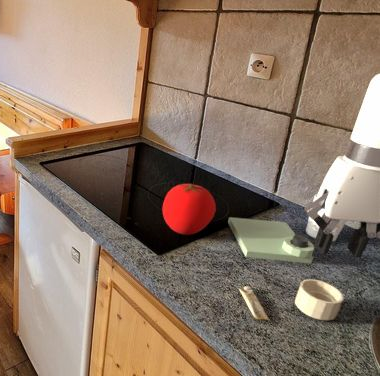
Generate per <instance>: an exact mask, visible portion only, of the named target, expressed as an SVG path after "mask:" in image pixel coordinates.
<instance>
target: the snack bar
mask: <svg viewBox="0 0 380 376" xmlns="http://www.w3.org/2000/svg"><path fill="white" fill-rule="evenodd" d="M236 288H237V289H238V290H239V293H240V294H241V296H242V298H243V300H244V301H245V303H246V306H247V307H248V309H249V311H250V313H251V315H252V316H253V318H254V319H255V320H260V321H263V322H265V323H266V322H267V323H270V322H271V319H270V318H269V316H268V315H267V313H266V310H265V309H264V307H263V305H262V303H261V302H260V300H259V299H258V296H257V295H256V294H255V292H254V290H253V288H252V286H251V285H247V286H246V285H245V286H238V285H236Z"/></svg>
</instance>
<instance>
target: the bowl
mask: <svg viewBox="0 0 380 376" xmlns="http://www.w3.org/2000/svg"><path fill="white" fill-rule="evenodd" d="M344 299H345V298H344V295H343V293H342V291H340V290H339V289H338V288H337V287H335V286H334V285H332V284H330V283H328V282H326V281H322V280H319V279H315V278H314V279H312V278H307V279H303V280H301V282H300V283H299V285H298V289H297V291H296V294H295V298H294V304H295V306H296V307H297V309H299V311H301V312H302V313H303V314H305V315H306V316H308V317H309V318H312V319H314V320H319V321H332V320H334V319H336V318H337V316H338V314H339V312H340V310H341V307H342V304H343V302H344Z"/></svg>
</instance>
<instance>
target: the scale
mask: <svg viewBox="0 0 380 376" xmlns="http://www.w3.org/2000/svg"><path fill="white" fill-rule="evenodd" d="M227 224H228V226H229V227H230V230H231V231H232V234H233V236H234V237H235V239H236V241H237V243H238V245H239V247H240V249H241V251H242V253H243V254H244V256H245V258H249V259H250V258H251V259H252V258H253V259H262V260H271V261H282V262H291V263H303V264H312V262H313V259H314V257H313V253H314V250H315V245H314V244H313V243H312V242H311V241H308V244H307V247H306V248H300V247H297V246H294V245H293V244H291V242H292V239H293V236H294V235H296V234H295V232H294V230H293V229H292V228H291V227H290V226H289V224H288V223H287V222H286V221H277V220H264V219H252V218H241V217H232V216H231V217H228V221H227Z"/></svg>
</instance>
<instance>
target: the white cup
mask: <svg viewBox="0 0 380 376" xmlns="http://www.w3.org/2000/svg"><path fill="white" fill-rule="evenodd" d="M317 195H318V192H317V193H315V194H314V197H313V200H312V203H313V202H314V201H315V200H316V197H317ZM325 211H326V209H321V210H320V211H319V212H318V214H319V215H320V216H321V217H322V215H323V214H324V212H325ZM346 222H347V220H340V221H339V223H338V224H337V225H336V227H335V228H334V230H333V231H332V232H331V233H332V234H333V235H334V237H333V240H332V242H336V241H337V239H338V238H339V235H340V233H341V232H342V230H343V228H344V226H345V224H346ZM318 230H319V226H318V225H317V224H316V222H315V221H314V220H313V219H311V218H310V217H309V216H308V220H307V225H306V228H305V232H306V234H307V235H309V237H311V238H314V240H315V239H316V236H317V233H318Z"/></svg>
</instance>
